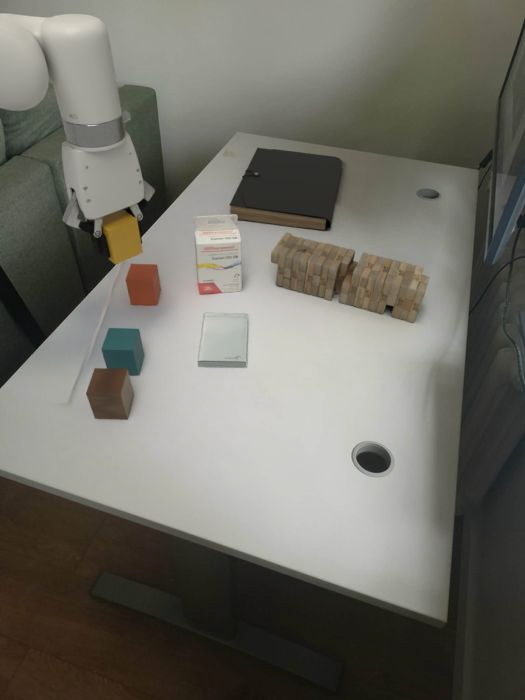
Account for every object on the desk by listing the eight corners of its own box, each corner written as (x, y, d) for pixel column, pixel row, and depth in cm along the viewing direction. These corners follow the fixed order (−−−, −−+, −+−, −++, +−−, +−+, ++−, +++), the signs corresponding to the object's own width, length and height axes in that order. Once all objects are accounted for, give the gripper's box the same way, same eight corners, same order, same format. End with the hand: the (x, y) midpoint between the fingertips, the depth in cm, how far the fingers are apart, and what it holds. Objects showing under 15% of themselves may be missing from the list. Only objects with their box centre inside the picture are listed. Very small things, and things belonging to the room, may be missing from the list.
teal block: (108, 374, 81) (101, 349, 77) (115, 353, 85) (108, 327, 81) (138, 375, 81) (133, 350, 77) (144, 354, 85) (139, 328, 81)
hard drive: (246, 361, 82) (248, 312, 91) (197, 360, 82) (203, 311, 91) (246, 368, 83) (248, 319, 92) (197, 367, 83) (204, 318, 92)
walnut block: (94, 418, 75) (85, 393, 71) (102, 393, 79) (94, 367, 74) (127, 419, 75) (120, 394, 71) (134, 394, 79) (127, 368, 74)
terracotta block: (130, 305, 94) (125, 279, 90) (135, 288, 98) (130, 263, 93) (156, 305, 94) (152, 280, 90) (161, 289, 98) (157, 264, 93)
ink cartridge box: (199, 296, 97) (193, 229, 86) (197, 280, 100) (191, 215, 90) (242, 292, 98) (242, 226, 87) (239, 277, 101) (238, 212, 91)
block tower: (419, 303, 98) (282, 263, 105) (432, 268, 92) (286, 228, 99) (412, 327, 93) (268, 284, 99) (425, 292, 87) (271, 248, 93)
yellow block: (115, 265, 75) (107, 230, 71) (98, 251, 78) (89, 217, 74) (143, 252, 78) (137, 218, 74) (125, 239, 80) (119, 206, 76)
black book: (256, 146, 137) (343, 156, 135) (256, 160, 140) (341, 171, 138) (228, 203, 114) (332, 217, 112) (228, 219, 117) (329, 233, 115)
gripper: (134, 106, 71) (151, 219, 84) (19, 137, 62) (57, 258, 75) (165, 121, 67) (178, 237, 80) (47, 156, 58) (82, 280, 71)
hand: (119, 246), depth 77 cm, fingers closed on yellow block, 5 cm apart
